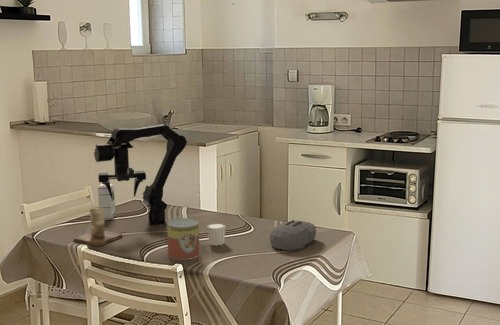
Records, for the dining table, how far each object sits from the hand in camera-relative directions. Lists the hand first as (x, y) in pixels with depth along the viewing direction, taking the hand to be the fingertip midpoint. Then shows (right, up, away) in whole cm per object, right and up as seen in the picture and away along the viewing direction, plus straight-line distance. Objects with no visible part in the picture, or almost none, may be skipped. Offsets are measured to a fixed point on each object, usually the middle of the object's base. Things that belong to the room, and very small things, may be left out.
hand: (123, 197), depth 254 cm
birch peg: (-7, -14, -12) cm, 20 cm away
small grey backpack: (+68, -17, -20) cm, 73 cm away
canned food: (+28, -19, -31) cm, 46 cm away
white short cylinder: (+39, -17, -19) cm, 47 cm away
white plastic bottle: (-11, -10, +19) cm, 24 cm away
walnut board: (-7, -16, -12) cm, 21 cm away
